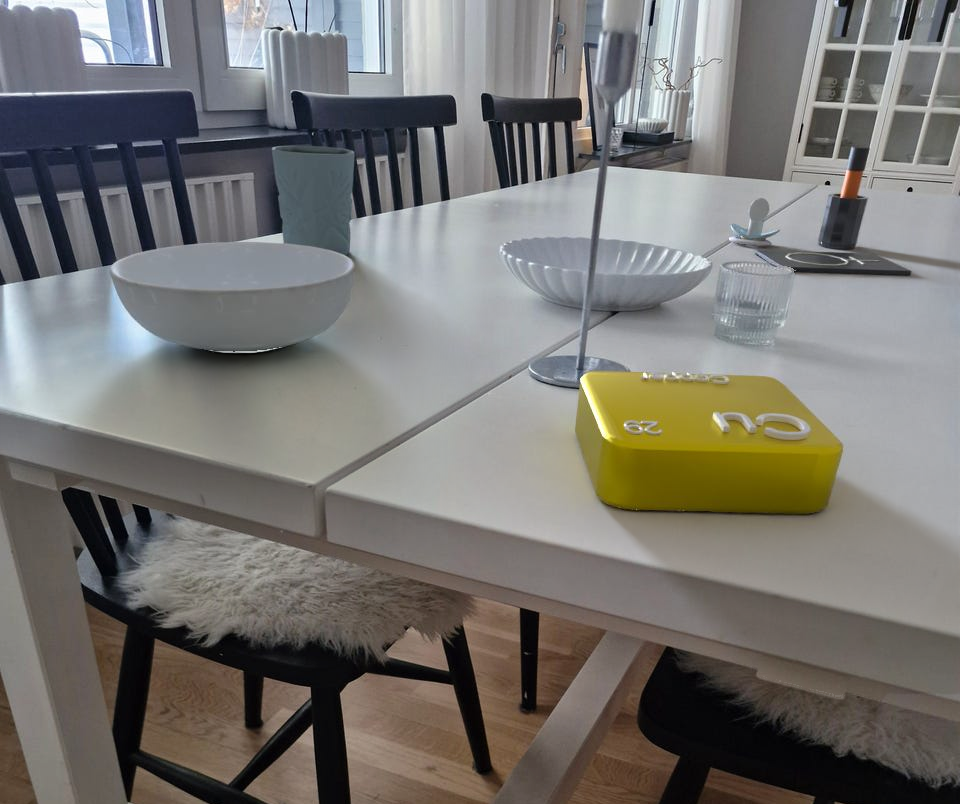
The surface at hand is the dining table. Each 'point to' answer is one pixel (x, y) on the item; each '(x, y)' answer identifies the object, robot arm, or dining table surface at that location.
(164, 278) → the serving bowl
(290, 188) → the green vase
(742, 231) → the pacifier
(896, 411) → the dining table surface
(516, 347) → the dining table surface
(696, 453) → the element tile
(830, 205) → the pen pot
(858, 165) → the marker
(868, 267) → the slate board
